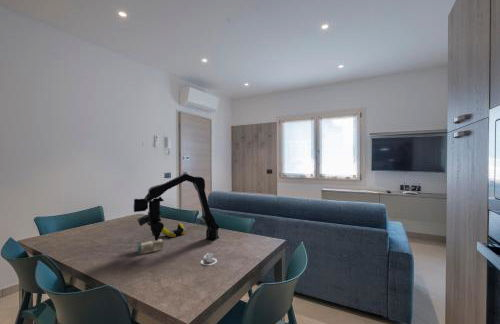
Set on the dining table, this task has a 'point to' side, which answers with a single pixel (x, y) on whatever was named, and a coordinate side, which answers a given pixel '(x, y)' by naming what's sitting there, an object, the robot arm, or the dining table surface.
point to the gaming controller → (174, 231)
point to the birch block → (149, 246)
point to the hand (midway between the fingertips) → (155, 238)
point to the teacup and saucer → (208, 259)
